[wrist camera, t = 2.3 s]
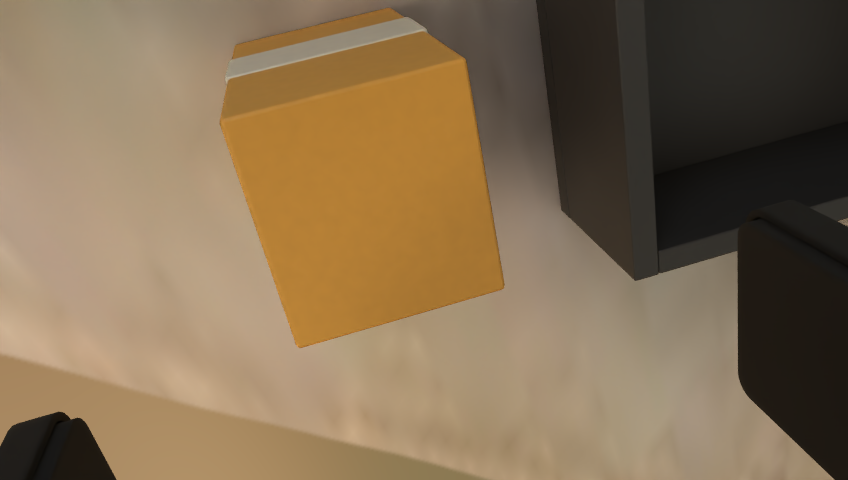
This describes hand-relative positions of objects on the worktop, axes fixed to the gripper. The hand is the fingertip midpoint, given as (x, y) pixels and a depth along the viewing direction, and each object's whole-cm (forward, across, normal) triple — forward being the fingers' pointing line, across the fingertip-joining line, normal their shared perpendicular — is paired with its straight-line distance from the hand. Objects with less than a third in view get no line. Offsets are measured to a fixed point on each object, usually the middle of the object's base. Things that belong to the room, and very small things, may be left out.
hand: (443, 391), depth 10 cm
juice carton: (+15, 0, -1) cm, 15 cm away
